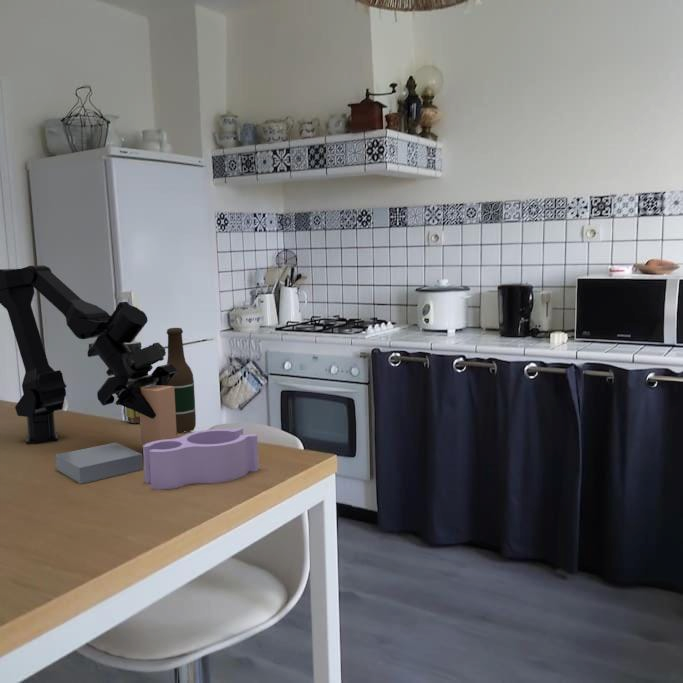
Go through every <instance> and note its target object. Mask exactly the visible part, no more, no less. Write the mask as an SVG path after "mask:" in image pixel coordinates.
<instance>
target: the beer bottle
mask: <svg viewBox="0 0 683 683" xmlns="http://www.w3.org/2000/svg"><path fill="white" fill-rule="evenodd" d="M183 332H184V331H183V329H182V327H181V328H180V327H170V328H168V329H166V335H167V362H166V364H172V365H173V366H174V367H175V369H176V370H177V373H176V375H175V376H174V377H173V378H172V380H171V381H170V382H169V383H168V384H167V386H174V391H175V411H176V431H177V434H179V433H178V432H184V431H188V432H191V431H192V432H193V431H194V430H195V428H196V426H197V425H196V424H197V423H196V420H197V419H196V418H197V417H196V415H197V414H196V396H195V380H194V375H193V374H194V373H193V371H192V369H191V367H190V366H189V364H188V363H187V362H186V358H185V352H184V344H183V335H182V334H183ZM184 433H186V432H184ZM184 433H183V434H184Z"/></svg>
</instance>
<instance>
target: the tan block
mask: <svg viewBox="0 0 683 683" xmlns="http://www.w3.org/2000/svg"><path fill="white" fill-rule="evenodd" d="M141 393H142V395H143V396H144V397H145V399H146V400H147V402H148V403H149V405H150V406H151V407H152V409H153V411H154V412H155V414H156V416H155V418H153V419H152V418H149V417H147V416H145V415H143V414H141V413H140V423H139V425H140V440H141V448H143V445H145V444H147V443H150V442H153V441H158V440H166V439H175V438H178V435H177V434H178V433H177V431H176V411H175V391H174V386H163V385H152V386H149V387H145V388H141Z"/></svg>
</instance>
